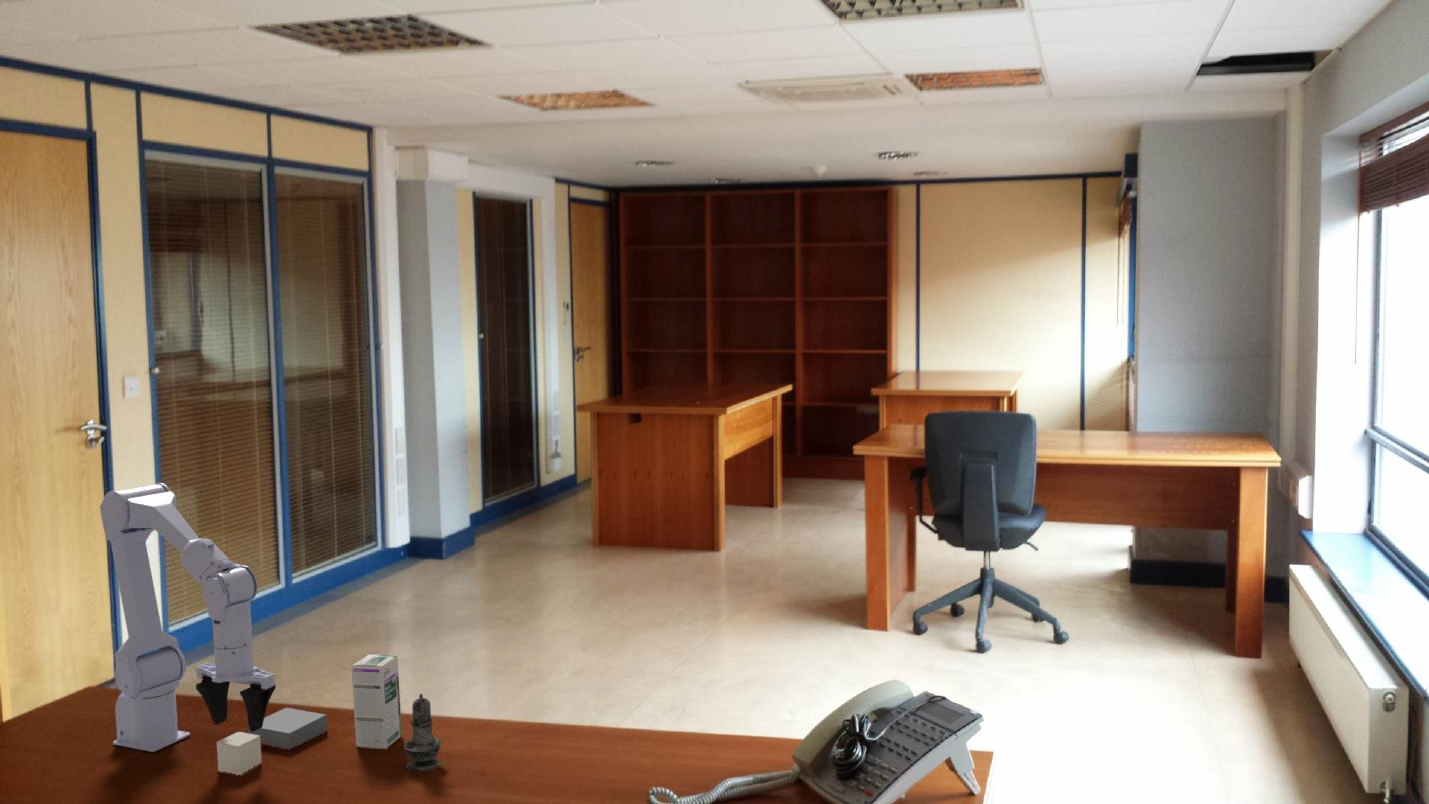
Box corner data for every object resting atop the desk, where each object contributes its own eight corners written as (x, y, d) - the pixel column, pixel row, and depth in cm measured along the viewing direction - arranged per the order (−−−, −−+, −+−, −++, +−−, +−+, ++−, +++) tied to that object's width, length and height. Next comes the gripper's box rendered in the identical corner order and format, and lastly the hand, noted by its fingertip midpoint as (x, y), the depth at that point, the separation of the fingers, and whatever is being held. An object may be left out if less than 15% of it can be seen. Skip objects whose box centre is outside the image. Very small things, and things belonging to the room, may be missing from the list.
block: (248, 742, 201) (247, 725, 201) (286, 724, 210) (286, 707, 209) (290, 750, 198) (289, 733, 198) (327, 731, 206) (326, 714, 206)
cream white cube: (218, 772, 190) (216, 742, 189) (240, 761, 194) (238, 731, 194) (240, 776, 188) (238, 746, 188) (261, 765, 192) (260, 735, 192)
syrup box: (386, 749, 198) (383, 665, 196) (354, 747, 199) (350, 663, 197) (402, 736, 203) (399, 654, 202) (370, 734, 205) (367, 653, 203)
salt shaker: (449, 760, 193) (446, 689, 192) (429, 774, 188) (426, 701, 186) (418, 755, 195) (415, 685, 194) (397, 770, 190) (394, 697, 188)
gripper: (179, 646, 188) (184, 728, 189) (249, 656, 182) (254, 741, 184) (213, 633, 194) (218, 713, 196) (282, 643, 189) (286, 725, 190)
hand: (238, 725), depth 190 cm, fingers open, 7 cm apart
